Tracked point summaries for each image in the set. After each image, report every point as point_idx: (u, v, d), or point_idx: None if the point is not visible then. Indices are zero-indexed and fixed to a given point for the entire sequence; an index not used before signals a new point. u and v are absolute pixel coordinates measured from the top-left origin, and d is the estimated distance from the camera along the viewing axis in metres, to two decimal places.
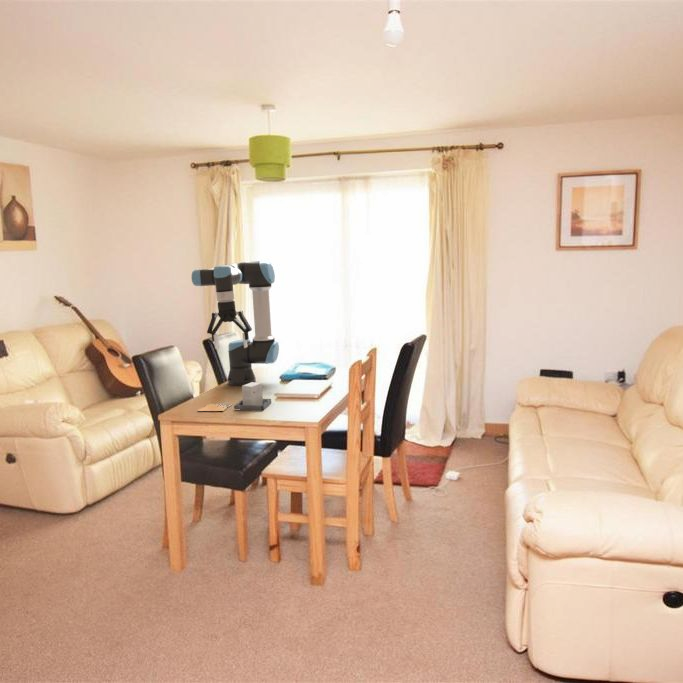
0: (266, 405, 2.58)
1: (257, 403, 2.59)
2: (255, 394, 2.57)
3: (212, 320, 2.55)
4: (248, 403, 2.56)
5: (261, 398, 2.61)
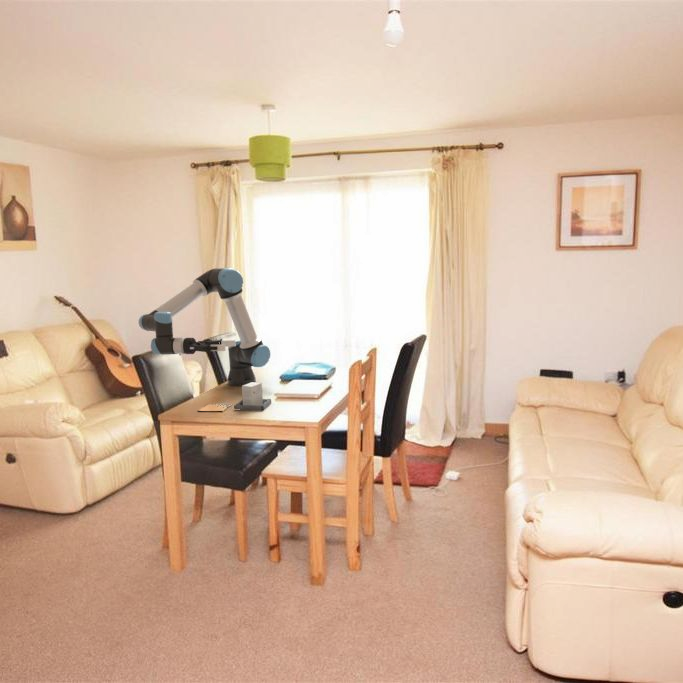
0: (266, 405, 2.58)
1: (257, 403, 2.59)
2: (255, 394, 2.57)
3: None
4: (248, 403, 2.56)
5: (261, 398, 2.61)
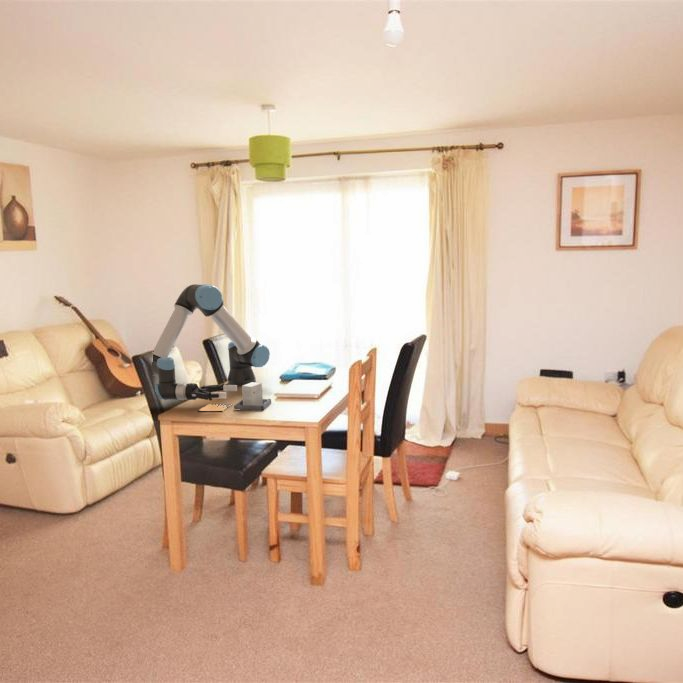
0: (266, 405, 2.58)
1: (257, 403, 2.59)
2: (255, 394, 2.57)
3: None
4: (248, 403, 2.56)
5: (261, 398, 2.61)
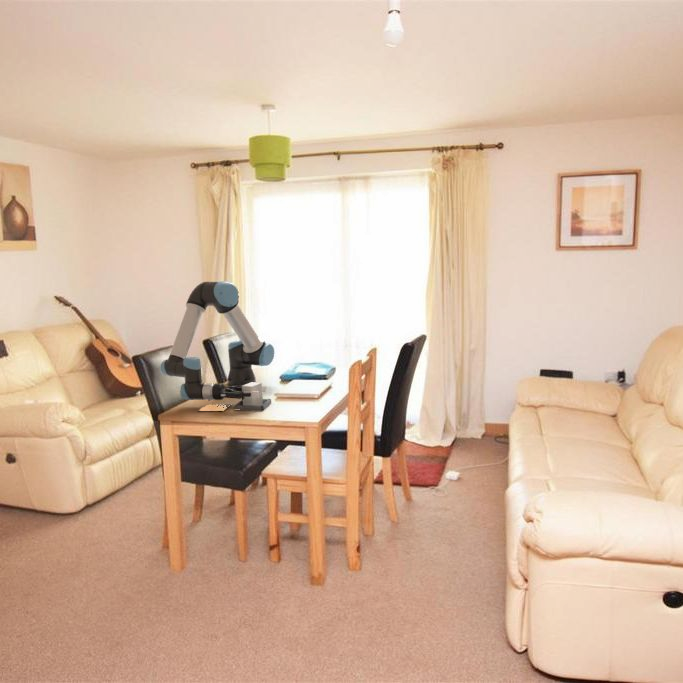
0: (266, 405, 2.58)
1: (257, 403, 2.59)
2: None
3: None
4: (248, 403, 2.56)
5: (261, 398, 2.61)
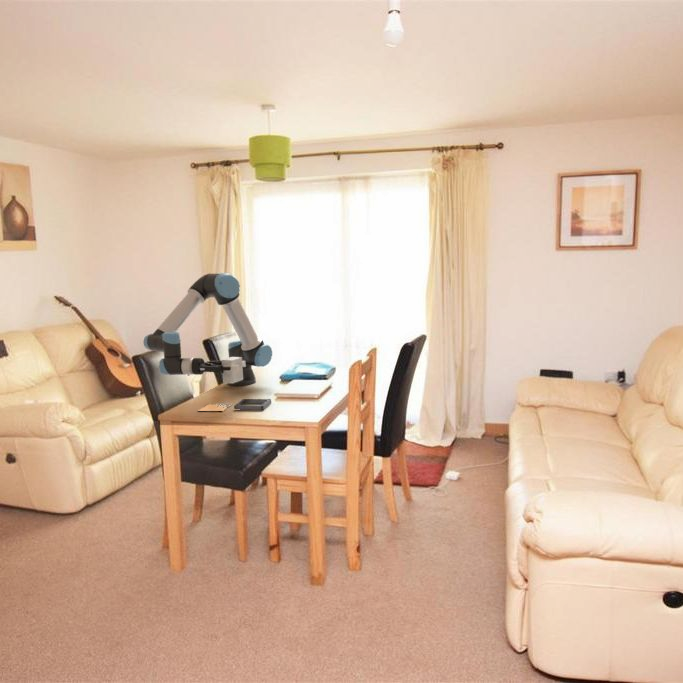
0: (266, 405, 2.58)
1: (237, 377, 2.56)
2: None
3: None
4: (228, 377, 2.54)
5: (241, 373, 2.59)
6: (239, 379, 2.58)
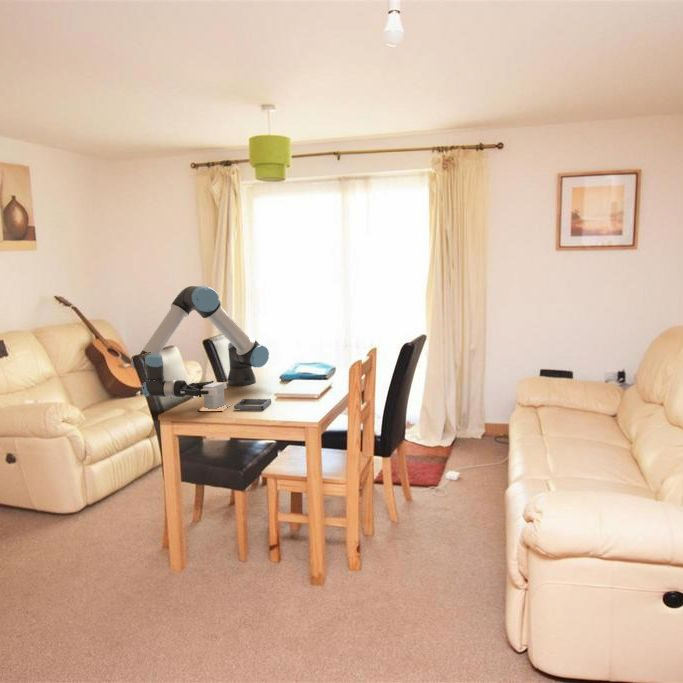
0: (266, 405, 2.58)
1: (218, 403, 2.58)
2: None
3: None
4: (209, 403, 2.56)
5: (223, 398, 2.61)
6: (221, 405, 2.60)
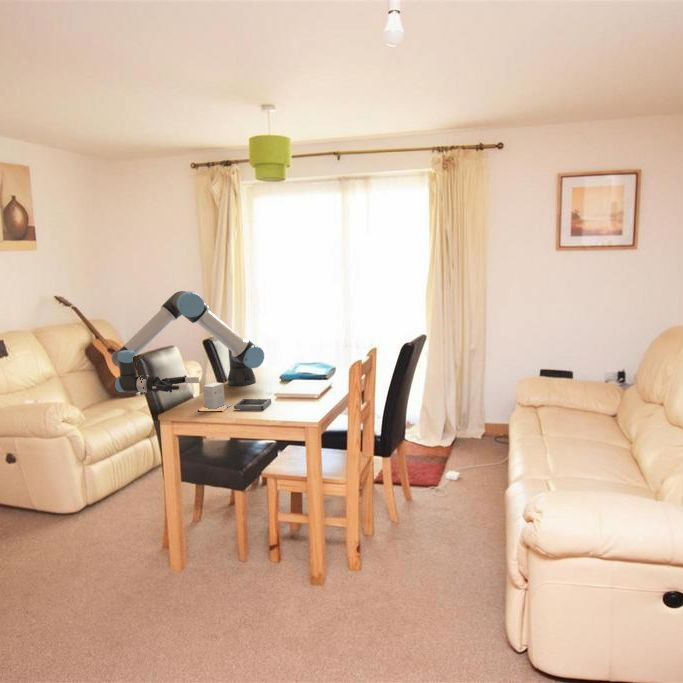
0: (266, 405, 2.58)
1: (218, 403, 2.58)
2: (216, 394, 2.57)
3: None
4: (209, 403, 2.56)
5: (223, 398, 2.61)
6: (221, 405, 2.60)
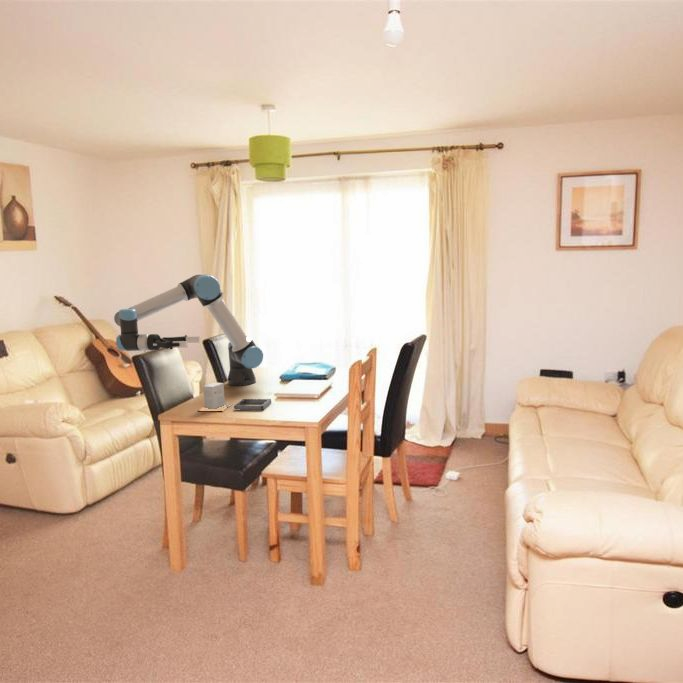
0: (266, 405, 2.58)
1: (218, 403, 2.58)
2: (216, 394, 2.57)
3: None
4: (209, 403, 2.56)
5: (223, 398, 2.61)
6: (221, 405, 2.60)
